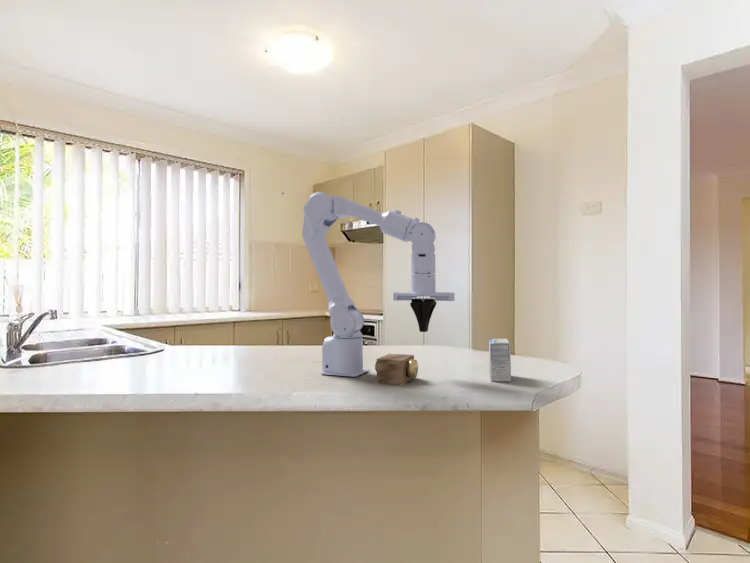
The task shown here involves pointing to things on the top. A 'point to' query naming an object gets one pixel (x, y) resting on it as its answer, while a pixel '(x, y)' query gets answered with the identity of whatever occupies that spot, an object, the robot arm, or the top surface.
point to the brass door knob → (409, 368)
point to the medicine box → (499, 360)
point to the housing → (393, 368)
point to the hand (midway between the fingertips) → (423, 331)
